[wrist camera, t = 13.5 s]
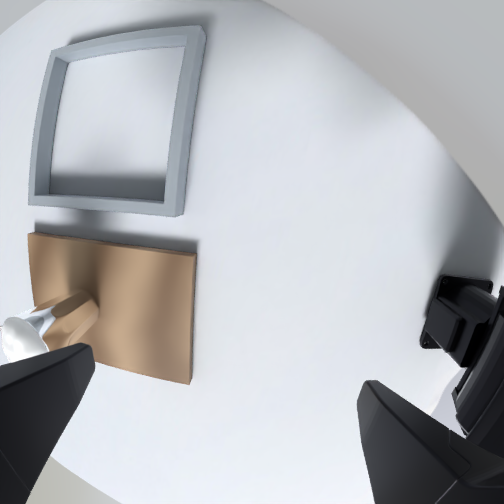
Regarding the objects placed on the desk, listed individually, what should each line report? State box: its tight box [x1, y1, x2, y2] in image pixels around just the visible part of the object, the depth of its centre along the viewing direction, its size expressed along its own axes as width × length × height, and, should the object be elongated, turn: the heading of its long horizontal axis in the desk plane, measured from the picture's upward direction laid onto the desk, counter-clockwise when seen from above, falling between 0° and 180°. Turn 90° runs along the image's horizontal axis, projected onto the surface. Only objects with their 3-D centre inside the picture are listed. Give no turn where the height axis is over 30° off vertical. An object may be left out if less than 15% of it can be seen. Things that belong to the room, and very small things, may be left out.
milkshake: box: [0, 288, 99, 363], centre depth 17 cm, size 4×5×10 cm
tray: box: [28, 25, 207, 217], centre depth 18 cm, size 14×14×2 cm
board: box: [28, 232, 197, 385], centre depth 22 cm, size 16×11×1 cm
